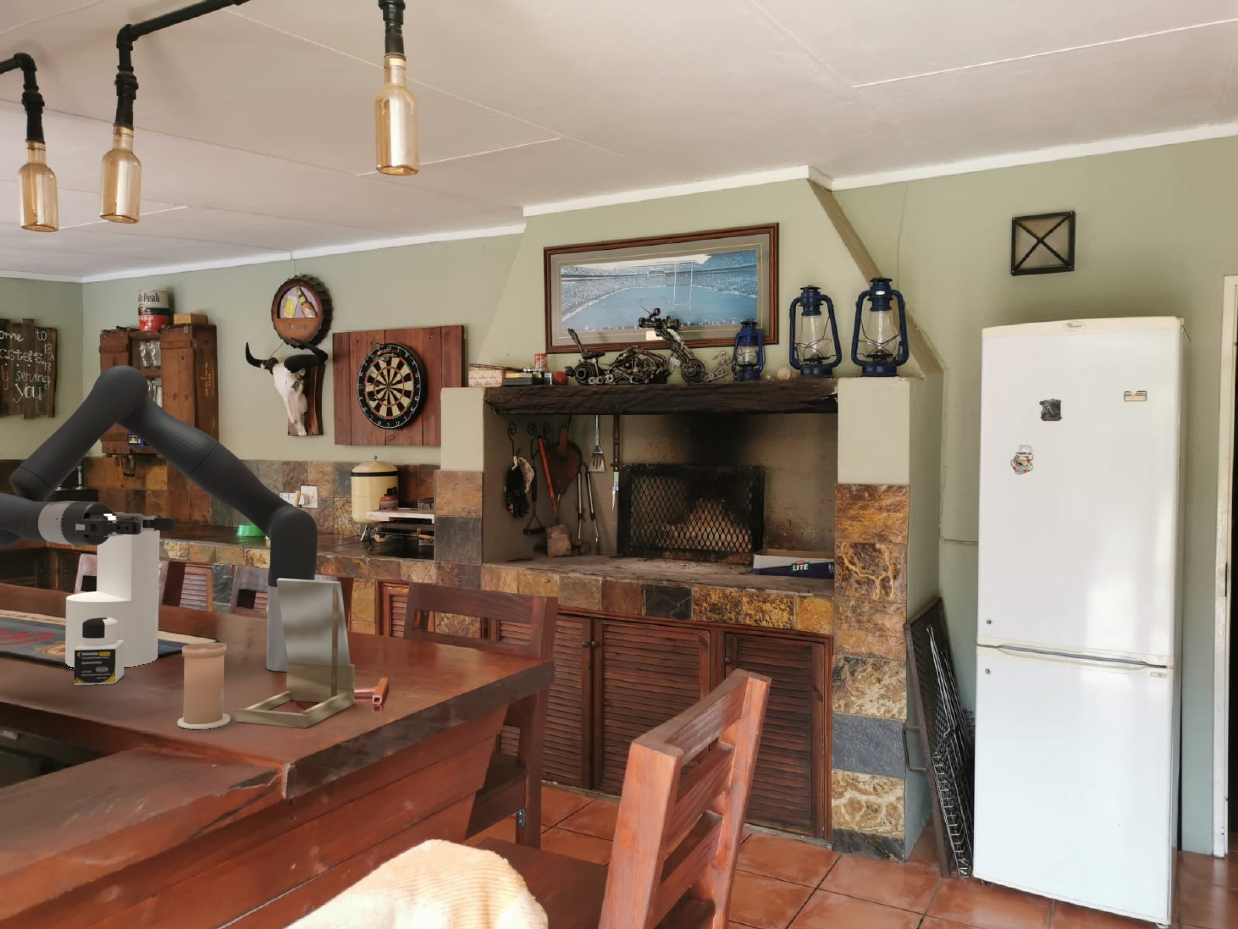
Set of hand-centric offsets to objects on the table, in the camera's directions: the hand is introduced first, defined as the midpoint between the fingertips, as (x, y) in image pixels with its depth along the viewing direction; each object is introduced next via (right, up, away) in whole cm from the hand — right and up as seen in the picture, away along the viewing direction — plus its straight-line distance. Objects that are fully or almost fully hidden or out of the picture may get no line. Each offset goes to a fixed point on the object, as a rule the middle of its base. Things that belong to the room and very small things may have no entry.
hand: (157, 526), depth 161 cm
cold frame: (+23, -32, +3) cm, 40 cm away
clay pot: (+10, -32, -4) cm, 33 cm away
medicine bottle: (-22, -32, +23) cm, 45 cm away
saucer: (+10, -32, -4) cm, 34 cm away
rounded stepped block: (-29, -31, +39) cm, 58 cm away
